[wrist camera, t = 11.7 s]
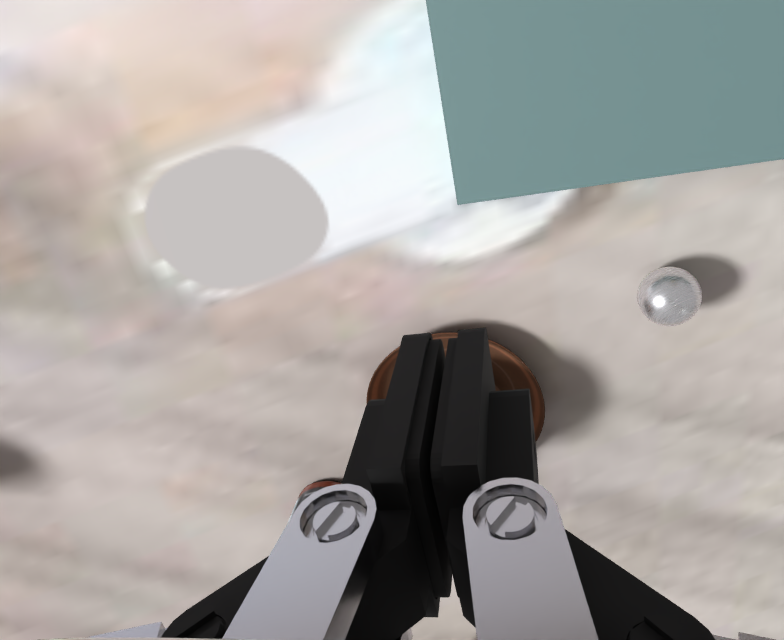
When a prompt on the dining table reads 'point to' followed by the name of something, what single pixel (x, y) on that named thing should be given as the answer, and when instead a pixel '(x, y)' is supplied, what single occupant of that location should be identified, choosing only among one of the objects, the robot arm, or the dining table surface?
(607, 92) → the grey-green flat board
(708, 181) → the dining table surface
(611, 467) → the dining table surface
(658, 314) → the ball
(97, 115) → the dining table surface
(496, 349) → the cup and saucer
